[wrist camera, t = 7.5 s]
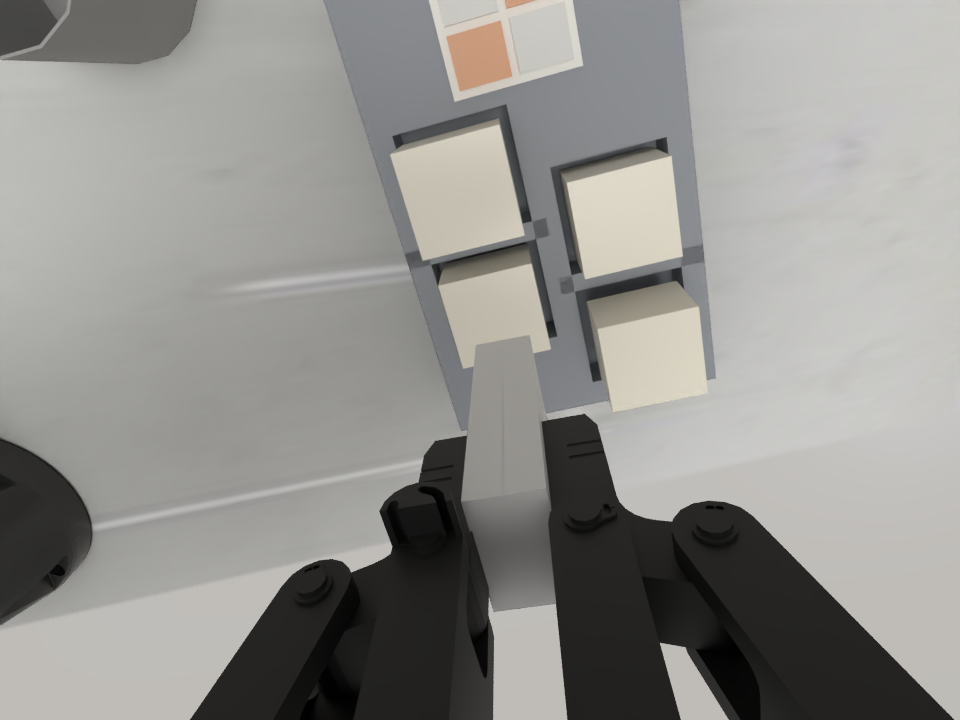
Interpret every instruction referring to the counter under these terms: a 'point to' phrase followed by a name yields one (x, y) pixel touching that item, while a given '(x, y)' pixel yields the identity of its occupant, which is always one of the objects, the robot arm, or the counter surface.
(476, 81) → the board
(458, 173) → the button
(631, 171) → the button
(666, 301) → the button
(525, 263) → the button
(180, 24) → the cup
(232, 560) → the counter surface
